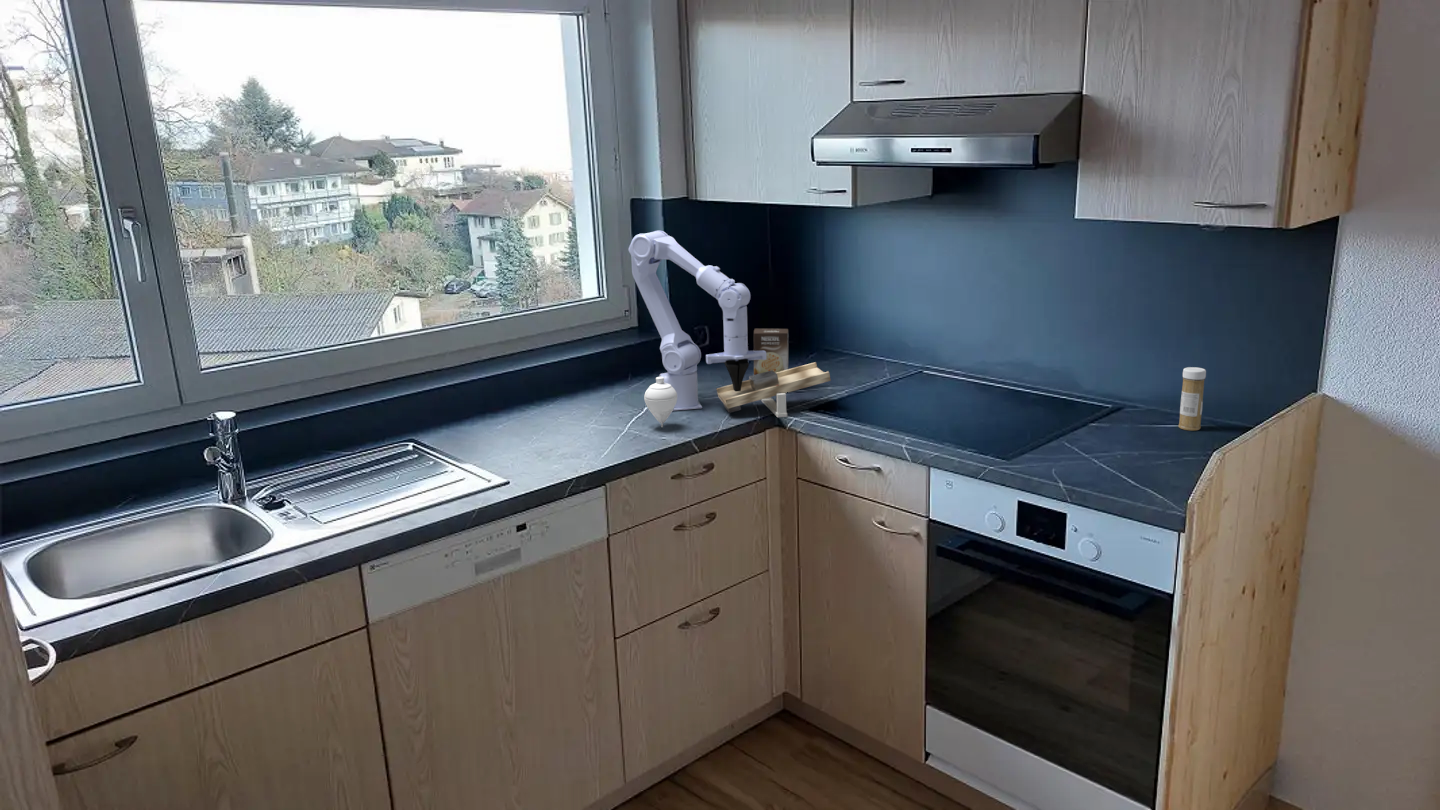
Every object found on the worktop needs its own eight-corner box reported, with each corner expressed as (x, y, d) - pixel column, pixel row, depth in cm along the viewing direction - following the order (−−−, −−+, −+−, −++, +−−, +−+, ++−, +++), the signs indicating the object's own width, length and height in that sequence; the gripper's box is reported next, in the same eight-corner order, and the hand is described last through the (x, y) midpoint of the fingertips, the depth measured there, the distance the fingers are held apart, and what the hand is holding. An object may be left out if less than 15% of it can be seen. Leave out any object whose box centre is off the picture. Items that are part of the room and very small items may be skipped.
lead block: (756, 392, 244) (753, 380, 244) (751, 387, 249) (748, 376, 248) (779, 386, 245) (777, 374, 244) (774, 381, 250) (772, 370, 249)
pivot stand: (777, 417, 241) (777, 395, 240) (761, 401, 256) (761, 379, 255) (787, 416, 242) (787, 394, 240) (770, 400, 257) (770, 379, 255)
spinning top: (684, 425, 237) (682, 375, 234) (666, 433, 231) (664, 382, 228) (657, 421, 241) (655, 372, 238) (639, 429, 235) (636, 379, 232)
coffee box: (753, 393, 264) (751, 332, 260) (754, 387, 270) (753, 328, 266) (788, 393, 263) (787, 332, 259) (789, 387, 270) (788, 327, 265)
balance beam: (730, 416, 241) (726, 400, 239) (719, 403, 253) (715, 387, 251) (832, 388, 244) (829, 372, 243) (817, 377, 256) (814, 361, 255)
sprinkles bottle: (1204, 428, 222) (1210, 369, 219) (1192, 432, 220) (1198, 372, 216) (1185, 424, 226) (1191, 365, 223) (1173, 427, 224) (1178, 368, 220)
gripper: (709, 340, 237) (711, 396, 241) (769, 336, 240) (770, 391, 244) (703, 335, 244) (705, 389, 247) (761, 331, 247) (763, 385, 250)
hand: (737, 390), depth 246 cm, fingers closed
